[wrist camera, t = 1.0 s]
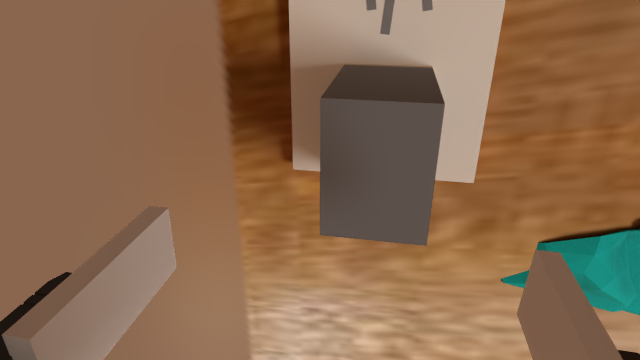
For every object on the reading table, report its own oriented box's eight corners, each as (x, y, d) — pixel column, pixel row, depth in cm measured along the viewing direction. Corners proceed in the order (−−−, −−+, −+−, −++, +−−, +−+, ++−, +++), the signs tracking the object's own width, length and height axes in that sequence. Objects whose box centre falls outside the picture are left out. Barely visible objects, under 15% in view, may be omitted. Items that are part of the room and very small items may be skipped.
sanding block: (345, 63, 30) (320, 98, 21) (432, 66, 29) (444, 104, 20) (342, 167, 33) (320, 235, 24) (420, 172, 32) (426, 245, 23)
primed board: (288, -168, 26) (283, -175, 25) (532, -182, 24) (538, -190, 23) (296, 163, 35) (292, 169, 34) (471, 176, 33) (473, 183, 32)
